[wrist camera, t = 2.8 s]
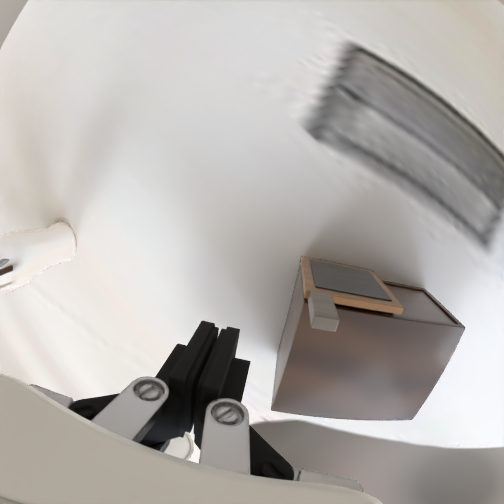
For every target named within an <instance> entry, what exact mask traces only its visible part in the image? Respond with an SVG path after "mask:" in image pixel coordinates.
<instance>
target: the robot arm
mask: <svg viewBox="0 0 504 504" xmlns="http://www.w3.org/2000/svg"><path fill="white" fill-rule="evenodd" d="M218 330H219V328H217V327H215V324H214V323H210V322H206V321H202V322H201V323H200V325H199V327H198V328H197V330H196V332H195V333H194V335H193V336H192V338H191V340H190V341H189V343H188V345H187V346H185V345H182V344H177V345H176V347H175V348H174V350H173V351H172V353H171V354H170V356H169V357H168V359H167V360H166V362H165V363H164V365H163V366H162V368H161V369H160V371H159V372H158V374H157V375H156V377H141V378H138V379H136V380H134V381H133V382H132V383H131V384H130V385H129V386H127V387H126V388H125V389H124V390H123V391H122V392H121V393H120V394H114V395H108V396H102V397H95V398H88V399H81V400H78V401H73V399H72V398H70V397H67V396H64V395H61V394H58V393H56V392H53V391H50V390H47V389H45V388H42V387H40V386H37V385H33V384H31V385H28V384H26V383H24V382H22V381H20V380H18V379H16V378H13V377H10V376H7V375H4V374H0V504H383V503H382V502H381V501H380V500H378V499H376V498H375V497H373V496H370V495H368V494H366V493H363V488H362V486H361V484H360V483H358V482H357V481H356V480H353V479H350V478H344V477H338V476H334V475H329V474H324V473H319V472H315V471H311V470H307V469H303V468H302V469H301V470H298V469H294V468H292V467H291V465H290V464H289V463H288V462H287V461H286V460H285V459H284V458H283V457H282V456H281V455H280V454H278V453H277V452H276V451H275V450H274V449H273V448H272V447H271V446H270V445H269V444H268V443H267V442H266V441H265V440H264V439H263V438H262V437H261V436H260V435H259V434H258V433H257V432H256V431H255V430H254V429H253V428H252V427H251V426H250V425H249V414H248V410H247V409H246V407H245V406H244V405H243V404H241V401H242V396H243V392H244V387H245V383H246V379H247V374H248V370H249V365H250V361H247V360H242V359H238V358H235V354H236V349H237V343H238V338H239V332H240V329H236V328H232V327H227V329H222V330H221V332H220V334H219V336H218ZM217 338H218V339H217ZM193 425H194V434H195V440H194V442H195V444H196V445H197V446H198V448H199V449H200V450H201V451H200V459H199V464H198V463H195V462H191V461H188V460H185V459H181V458H178V457H175V456H172V455H169V454H166V453H164V452H165V450H166V449H167V447H168V446H169V444H170V442H171V439H174V438H178V437H182V438H183V437H184V434H185V432H189V433H190V432H191V430H192V427H193Z"/></svg>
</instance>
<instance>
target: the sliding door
mask: <svg viewBox="0 0 504 504" xmlns="http://www.w3.org/2000/svg"><path fill="white" fill-rule="evenodd" d="M300 263H301V272H302V281H303V291H304V297H305V298H308V306H309V314H310V323H311V328H315V329H321V330H327V331H333V332H335V331H336V329H337V326H338V323H339V316H338V313H337V310H336V307H335V304H334V303H336V304H342V305H347V306H353V307H359V308H365V309H371V310H376V311H383V312H389V313H395V314H402V312H403V309H404V308H403V306H402V305H401V304H400V303H399V301H398V300H397V299H396V298H395V297H394V295H393V294H392V293H391V292H390V290H389V289H388V288H387V287H386V286H385V284H384V283H383V282H382V281H381V280H380V279H379V277H378V276H377V275H376V274H375V273H374V272H373V271H372V270H367V269H362V268H357V267H352V266H348V265H343V264H338V263H333V262H328V261H323V260H318V259H314V258H309V257H304V256H301V260H300Z"/></svg>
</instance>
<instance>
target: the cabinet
mask: <svg viewBox="0 0 504 504" xmlns="http://www.w3.org/2000/svg"><path fill="white" fill-rule="evenodd" d="M381 281H382V282H383V283H384V284H385V286H386V287H387V288H388V289H389V290H390V292H391V293H392V294H393V295H394V297H395V298H396V299H397V300H398V301H399V303H400V304H401V305H402V306H403V308H404V309H403V312H402V314H395V313H389V312H383V311H376V310H371V309H365V308H359V307H353V306H347V305H342V304H336V303H334V304H335V307H336V310H337V313H338V316H339V323H338V326H337V329H336V331H335V332H333V331H327V330H321V329H315V328H311V323H310V314H309V306H308V298H305V297H304V291H303V281H302V272H301V264H300V267H299V271H298V275H297V279H296V284H295V288H294V292H293V296H292V300H291V304H290V308H289V312H288V316H287V320H286V323H285V327H284V331H283V335H282V339H281V342H280V346H279V350H278V353H277V362H276V371H275V380H274V389H273V397H272V406H271V410H272V411H278V412H284V413H291V414H298V415H306V416H314V417H324V418H336V419H351V420H412V419H413V418H414V416H415V415H416V414H417V412H418V411H419V409H420V408H421V406H422V405H423V403H424V402H425V400H426V399H427V397H428V396H429V394H430V393H431V391H432V390H433V388H434V386H435V385H436V383H437V381H438V380H439V378H440V376H441V375H442V373H443V371H444V369H445V367H446V366H447V364H448V362H449V360H450V358H451V356H452V354H453V352H454V351H455V349H456V347H457V345H458V342H459V340H460V338H461V336H462V334H463V332H464V330H465V327H464V326H463V325H462V324H461V323H460V322H459V321H458V320H457V319H456V318H455V317H454V316H453V315H452V314H451V313H450V312H449V311H448V310H447V309H446V308H445V307H444V306H443V305H442V304H441V303H440V302H439V301H438V300H436V299H435V298H434V297H433V296H432V295H431V294H430V293H429V292H428V291H427V290H426V289H423V288H418V287H413V286H408V285H403V284H398V283H393V282H388V281H383V280H381Z"/></svg>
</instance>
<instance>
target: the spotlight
mask: <svg viewBox="0 0 504 504" xmlns="http://www.w3.org/2000/svg"><path fill="white" fill-rule="evenodd" d="M193 451H194V449H193V441H192V439H191V437H190V435H189V434H188V433H187V432H185V434H184V437H183V438H182V437H178V438H174V439H171V442H170V444H169V446H168V447H167V449H166V450H165V452H164V453H166V454H169V455H172V456H175V457H178V458H181V459H185V460H188V459H189V458H190V457H191V455H192V453H193Z"/></svg>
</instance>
